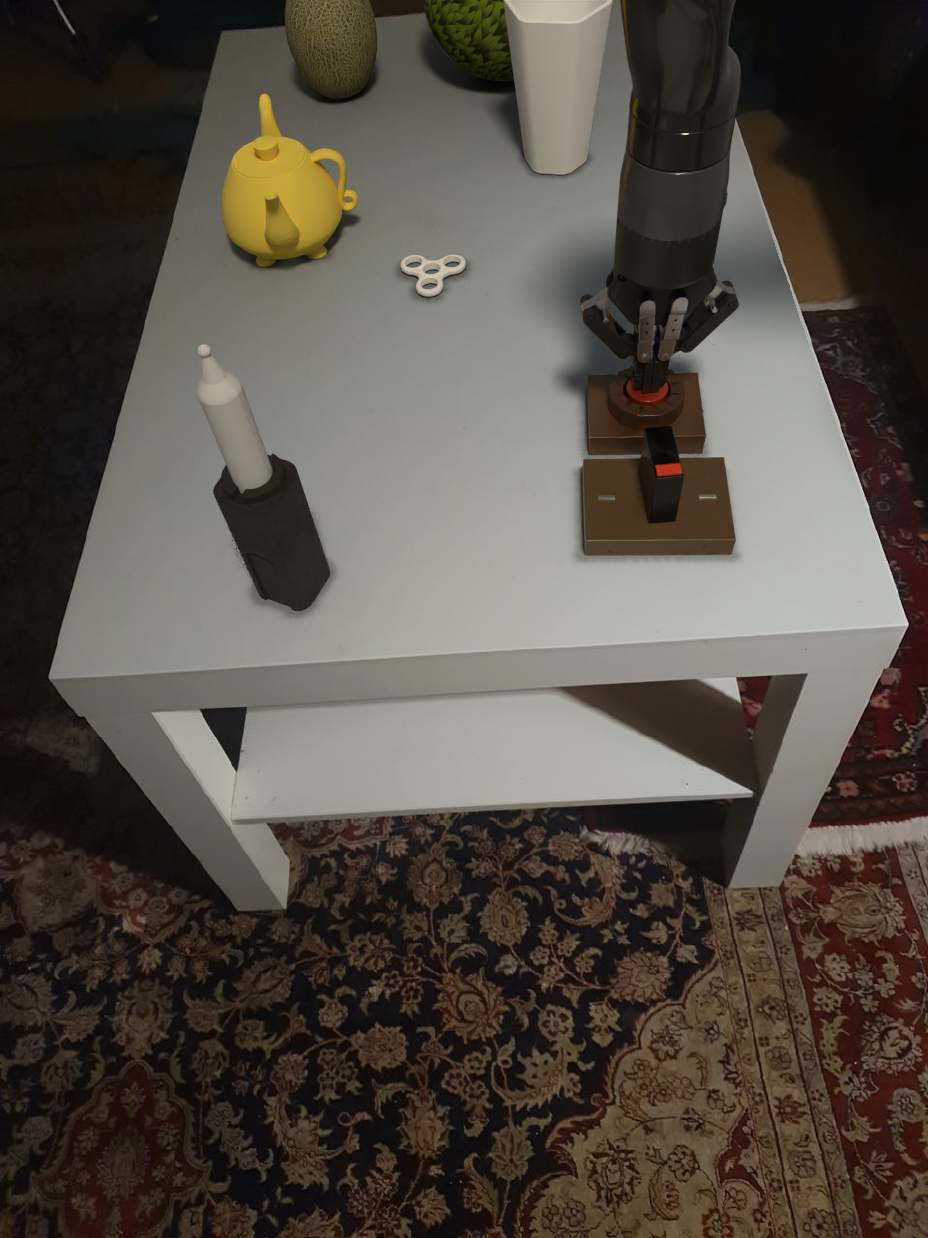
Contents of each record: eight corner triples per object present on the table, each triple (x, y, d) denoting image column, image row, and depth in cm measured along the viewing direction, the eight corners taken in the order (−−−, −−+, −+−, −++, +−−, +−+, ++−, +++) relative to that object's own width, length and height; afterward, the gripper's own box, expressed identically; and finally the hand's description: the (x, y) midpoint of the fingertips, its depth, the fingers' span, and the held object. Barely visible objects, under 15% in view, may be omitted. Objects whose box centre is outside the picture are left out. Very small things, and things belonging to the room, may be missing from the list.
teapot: (372, 284, 98) (354, 183, 88) (234, 306, 98) (200, 207, 88) (355, 179, 109) (337, 79, 99) (231, 198, 109) (201, 100, 99)
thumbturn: (638, 473, 78) (644, 425, 73) (664, 471, 78) (672, 422, 73) (648, 524, 75) (656, 476, 70) (675, 521, 75) (684, 474, 70)
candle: (335, 568, 78) (259, 328, 57) (305, 614, 75) (214, 382, 54) (284, 550, 79) (191, 310, 58) (252, 595, 77) (144, 362, 56)
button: (664, 387, 83) (666, 372, 81) (667, 415, 81) (669, 401, 80) (624, 388, 83) (625, 373, 82) (626, 416, 81) (627, 401, 80)
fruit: (282, 94, 121) (252, -36, 108) (348, 60, 125) (327, -70, 112) (335, 124, 116) (310, -8, 103) (403, 88, 120) (386, -44, 107)
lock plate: (720, 472, 80) (724, 455, 78) (731, 555, 75) (736, 538, 74) (582, 474, 81) (583, 457, 80) (584, 555, 76) (585, 539, 75)
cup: (558, 195, 104) (561, 33, 90) (492, 165, 108) (484, 6, 94) (619, 150, 108) (631, -12, 94) (553, 123, 112) (554, -36, 98)
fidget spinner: (467, 258, 99) (466, 252, 98) (461, 297, 95) (461, 291, 95) (402, 259, 100) (402, 253, 99) (395, 298, 96) (394, 291, 96)
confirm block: (694, 390, 86) (700, 356, 83) (702, 453, 82) (709, 420, 78) (586, 392, 87) (588, 359, 83) (589, 455, 82) (591, 422, 79)
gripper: (750, 165, 68) (714, 350, 83) (572, 183, 68) (567, 363, 83) (775, 226, 64) (732, 409, 78) (585, 245, 64) (577, 423, 79)
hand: (647, 385), depth 81 cm, fingers closed
